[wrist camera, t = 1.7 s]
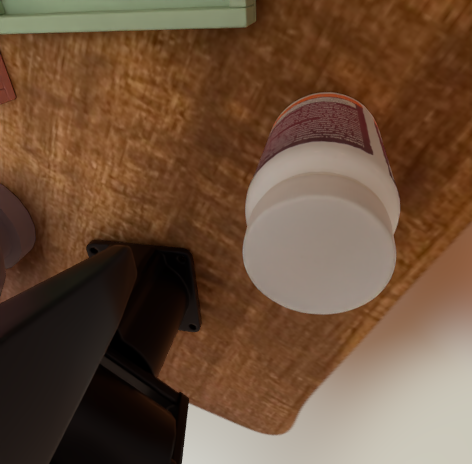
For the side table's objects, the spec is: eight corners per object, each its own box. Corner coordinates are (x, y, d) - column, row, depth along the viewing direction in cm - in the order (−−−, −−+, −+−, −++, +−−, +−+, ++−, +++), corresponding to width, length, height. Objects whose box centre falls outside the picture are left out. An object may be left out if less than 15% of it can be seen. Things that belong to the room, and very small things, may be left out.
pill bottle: (248, 147, 18) (194, 257, 11) (324, 64, 15) (315, 139, 8) (321, 211, 19) (314, 348, 12) (404, 143, 16) (456, 269, 9)
